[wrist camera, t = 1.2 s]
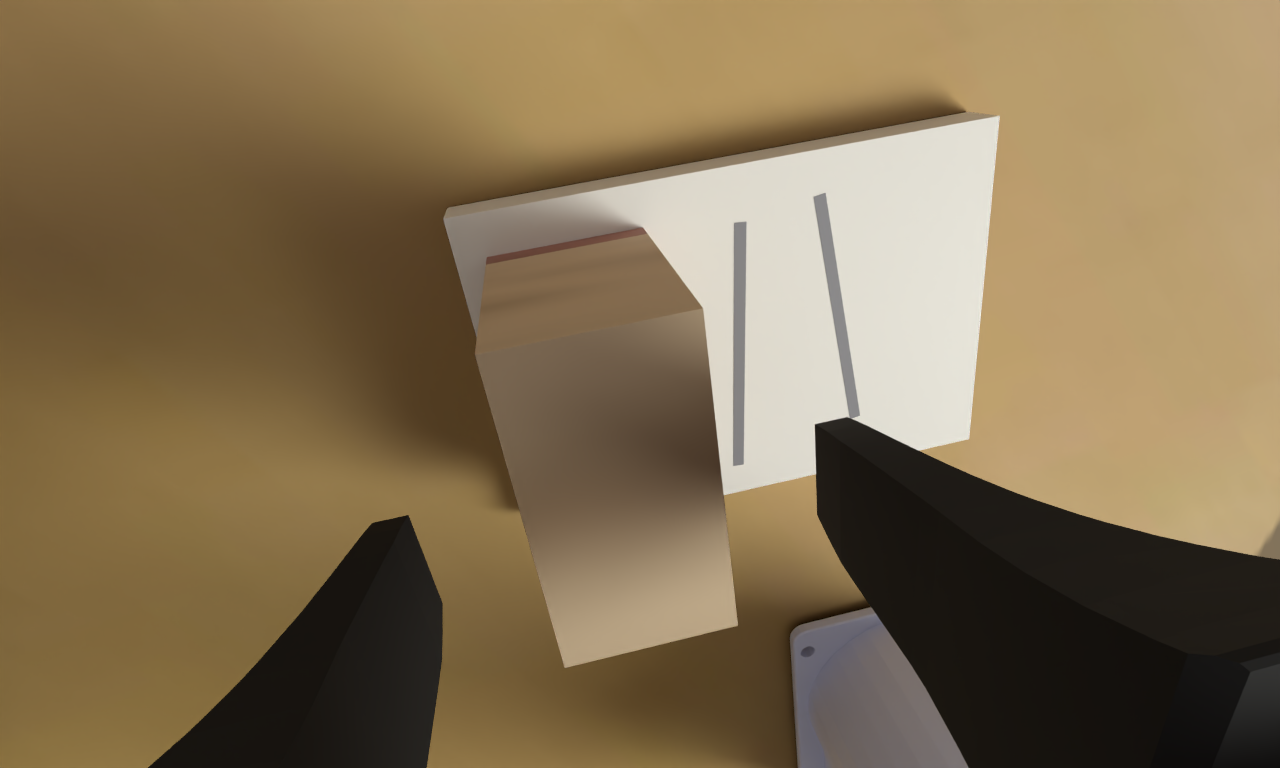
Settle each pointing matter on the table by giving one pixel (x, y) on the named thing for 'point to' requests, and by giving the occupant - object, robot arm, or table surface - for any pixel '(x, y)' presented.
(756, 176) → the board
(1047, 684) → the robot arm
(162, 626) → the table surface
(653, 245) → the block
